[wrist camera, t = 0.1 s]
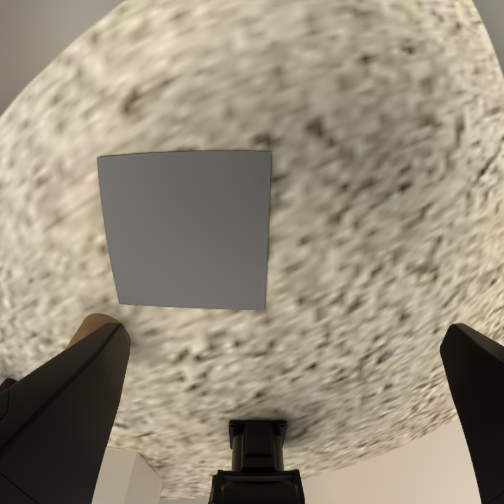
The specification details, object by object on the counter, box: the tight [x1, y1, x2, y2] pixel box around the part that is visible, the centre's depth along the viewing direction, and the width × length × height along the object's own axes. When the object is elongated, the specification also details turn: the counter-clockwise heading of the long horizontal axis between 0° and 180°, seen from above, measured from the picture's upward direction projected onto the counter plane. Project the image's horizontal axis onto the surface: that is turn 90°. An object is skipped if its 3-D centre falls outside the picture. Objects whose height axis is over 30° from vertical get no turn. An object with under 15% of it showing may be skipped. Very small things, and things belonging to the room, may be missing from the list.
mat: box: [97, 151, 271, 310], centre depth 22 cm, size 12×12×1 cm
